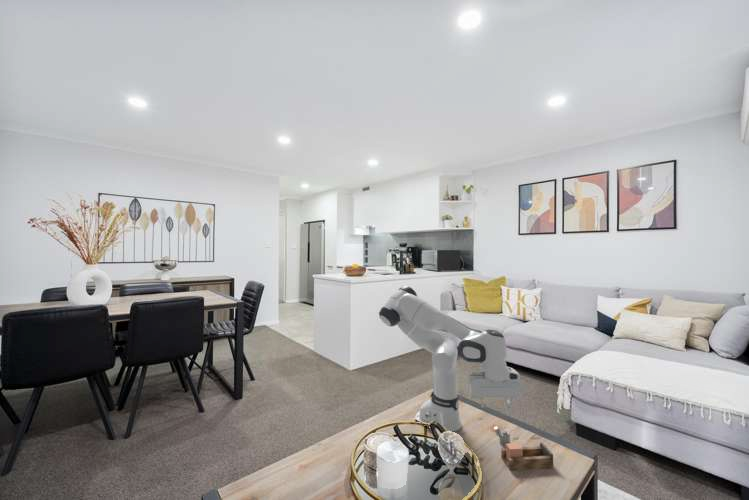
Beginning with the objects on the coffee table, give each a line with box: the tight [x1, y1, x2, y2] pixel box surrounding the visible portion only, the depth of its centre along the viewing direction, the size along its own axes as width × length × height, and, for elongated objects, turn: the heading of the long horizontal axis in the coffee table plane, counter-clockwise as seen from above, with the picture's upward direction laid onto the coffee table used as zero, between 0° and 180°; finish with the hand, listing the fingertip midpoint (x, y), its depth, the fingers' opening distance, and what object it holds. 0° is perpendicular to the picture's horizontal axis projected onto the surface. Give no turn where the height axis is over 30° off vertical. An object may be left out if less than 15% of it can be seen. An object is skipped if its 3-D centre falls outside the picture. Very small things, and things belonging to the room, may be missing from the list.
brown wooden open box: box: [500, 442, 554, 472], centre depth 121 cm, size 17×7×5 cm, turn 93°
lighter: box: [493, 425, 511, 446], centre depth 133 cm, size 7×2×8 cm, turn 107°
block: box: [505, 442, 523, 461], centre depth 120 cm, size 5×3×6 cm
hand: (495, 407), depth 121 cm, fingers open, 8 cm apart
